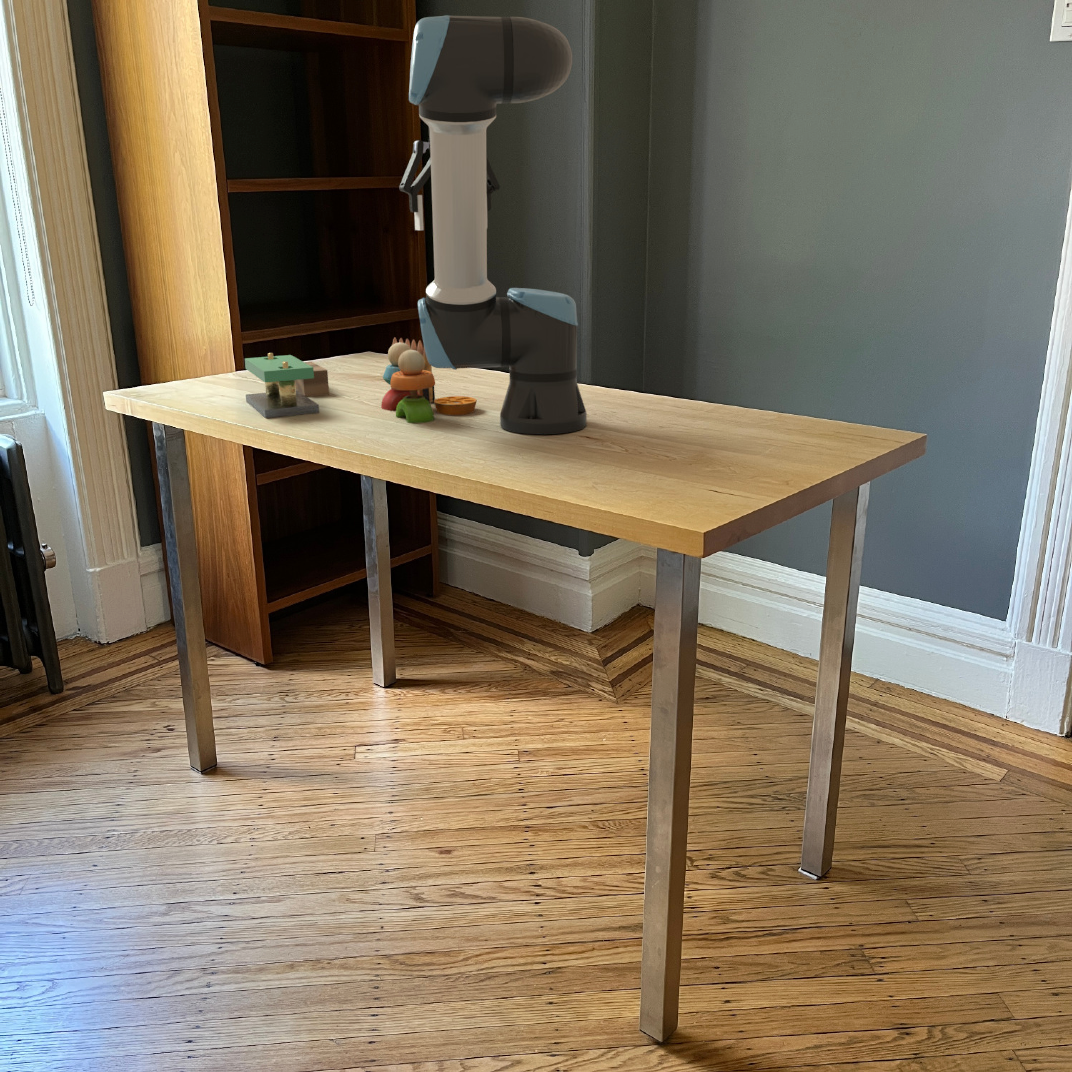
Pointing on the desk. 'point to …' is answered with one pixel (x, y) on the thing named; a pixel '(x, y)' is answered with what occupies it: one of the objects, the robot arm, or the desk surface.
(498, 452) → the desk surface
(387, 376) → the colourful wooden toy set
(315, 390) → the stand
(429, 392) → the ammunition clip
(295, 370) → the board
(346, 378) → the desk surface
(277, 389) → the chassis
